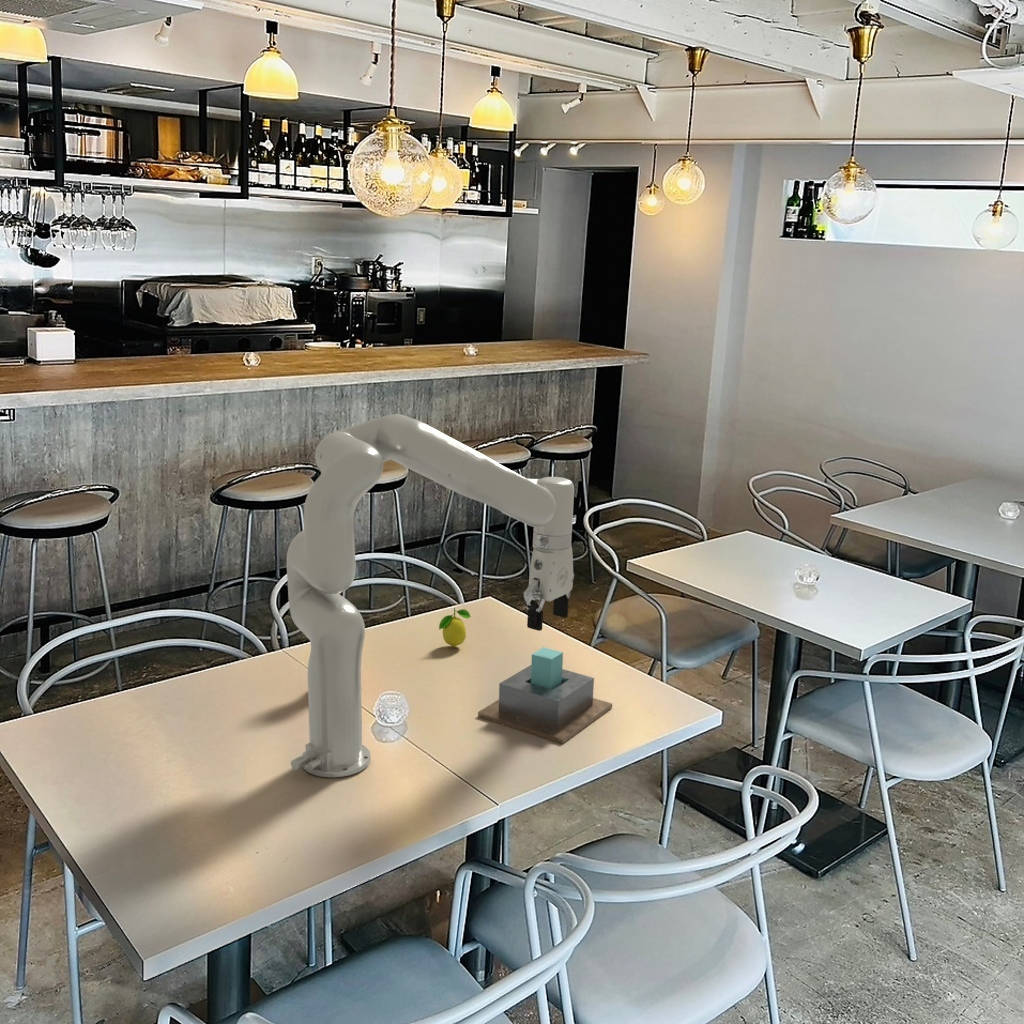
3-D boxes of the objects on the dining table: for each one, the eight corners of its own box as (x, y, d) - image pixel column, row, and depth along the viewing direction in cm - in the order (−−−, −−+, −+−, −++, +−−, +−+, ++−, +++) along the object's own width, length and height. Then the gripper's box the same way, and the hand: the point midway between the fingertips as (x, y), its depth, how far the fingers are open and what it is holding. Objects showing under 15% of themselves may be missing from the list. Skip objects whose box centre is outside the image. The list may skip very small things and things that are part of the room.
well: (562, 744, 204) (564, 710, 203) (478, 716, 215) (478, 684, 213) (612, 708, 220) (613, 676, 219) (531, 684, 231) (532, 654, 229)
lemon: (470, 643, 253) (470, 603, 251) (466, 652, 247) (467, 612, 245) (442, 641, 254) (442, 602, 251) (438, 650, 248) (438, 610, 245)
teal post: (549, 714, 214) (551, 659, 211) (530, 708, 217) (531, 654, 214) (560, 706, 218) (563, 652, 215) (541, 701, 220) (543, 647, 217)
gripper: (545, 553, 199) (540, 638, 203) (590, 535, 213) (585, 615, 218) (511, 545, 203) (508, 629, 207) (558, 528, 217) (554, 607, 222)
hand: (547, 622), depth 212 cm, fingers open, 9 cm apart
